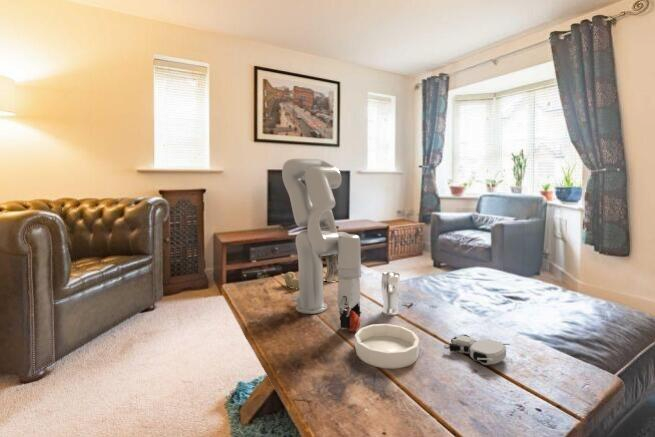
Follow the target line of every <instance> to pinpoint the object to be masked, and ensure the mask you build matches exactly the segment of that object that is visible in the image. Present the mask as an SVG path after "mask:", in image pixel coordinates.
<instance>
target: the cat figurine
mask: <svg viewBox="0 0 655 437" xmlns="http://www.w3.org/2000/svg"><path fill="white" fill-rule="evenodd" d="M280 277H281V278H282V279H283V280H284V282H285V284H286V287H288V288H289V287H292V288H293V289H294V290H297V289H296V288H298V289H299V279H297V277H296V273H295V272H293V271H288V272H286V273H285V274H284V273H281V274H280Z"/></svg>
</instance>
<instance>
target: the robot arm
mask: <svg viewBox="0 0 655 437" xmlns="http://www.w3.org/2000/svg"><path fill="white" fill-rule="evenodd" d="M281 175H282V177H281V178H282V181H283V185H284V186H285V189H286V192H287V194H288V196H289V199H290V205H291V208H292V209H291V210H292V214H293V218H294V222H295V224H296V226H298V227H300V228H307V229H304V230H301V231H300V232H299V233H298V234H296V237H295V248H296V252H297V259H298V260H297V261H298V280H299V288H298V290H299V291H298V294H299V295H297V294H292V295H291V302H295V303H296V304H295V310H296V311H297V312H298V313H301V314H307V315H309V314H310V315H311V314H312V315H313V314H319V313H323V312H325V311H326V310H327V309H328V304H327V303H326V302H325V301H324V281H323V278H324V270H323V269H324V267H323V262H322V260H321V258H320V257H319V256H322V257H324V256H326V255H332V254H335V255H337V266H338V277H339V282H337V283H338V284H337V307H338V310H339V311H338V312H339V321H340V322H339V323H340V328H342V329H346V330H348V329H349V328H350V316H349V313H350V310H352V311H354V312H355V313H359V312H361V306H360V305H361V302H360V301H361V280H360V278H362V263H361V262H362V260H361V259H362V258H361V256H362V255H361V254H362V253H361V250H362V249H361V248H362V247H361V238H360V236H359V234H358V235H357V234H349V233H348V232H345V231H338V230H337V225H336V221H335V217H334V214H333V211H332V209H333V208H335V206H336V199H335V197H334V194H333V190H334V189H338V188H339V187H340V186H341V185H342V181H343V180H342V179H343V178H342V175H341V172H340V171H339V169H338V167H336V166H335V165H332V164H331V163H329V162H327V161H325V160H322V159H317V158H316V159H315V158H311V159H310V158H291V159H288V160H286V161H285V162H284V164H283V165H282V170H281ZM302 181H304V182H305V184H304V183H303V182H302ZM326 257H327V256H326ZM346 310H347V312H346ZM360 317H361V314H359V318H360Z"/></svg>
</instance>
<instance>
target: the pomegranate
mask: <svg viewBox="0 0 655 437" xmlns="http://www.w3.org/2000/svg"><path fill="white" fill-rule="evenodd" d="M345 311H346V312H347V309H345ZM362 313H363V312H361V311H360V312H359V313H355V312H354V311H352V310H351V309H350V313H349V316H350V328H349V329H347V330H348V332H349V333H354V332H356V331H357V330H359V329H360V326H361V318H360V317H359V314H360V315H361V314H362ZM341 329H343V328H341V327H340V328H338V329H337V331H340V330H341Z"/></svg>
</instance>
